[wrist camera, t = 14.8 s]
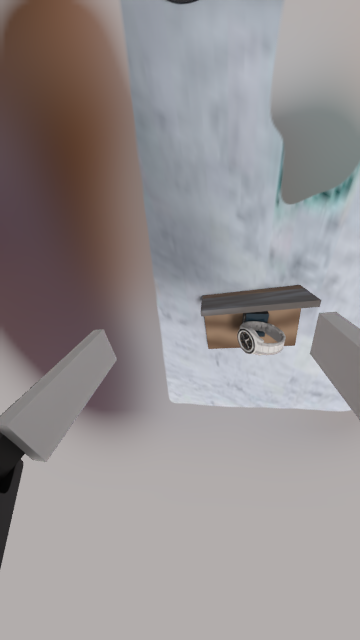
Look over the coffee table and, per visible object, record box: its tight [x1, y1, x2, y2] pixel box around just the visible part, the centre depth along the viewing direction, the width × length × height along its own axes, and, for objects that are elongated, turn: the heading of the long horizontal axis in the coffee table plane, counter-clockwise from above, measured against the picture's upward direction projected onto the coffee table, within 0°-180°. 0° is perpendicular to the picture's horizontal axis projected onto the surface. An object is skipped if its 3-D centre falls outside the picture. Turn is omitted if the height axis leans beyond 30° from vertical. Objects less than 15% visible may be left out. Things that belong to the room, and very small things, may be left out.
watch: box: [237, 311, 286, 355], centre depth 34 cm, size 6×8×11 cm
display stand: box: [201, 285, 321, 349], centre depth 37 cm, size 14×20×8 cm
